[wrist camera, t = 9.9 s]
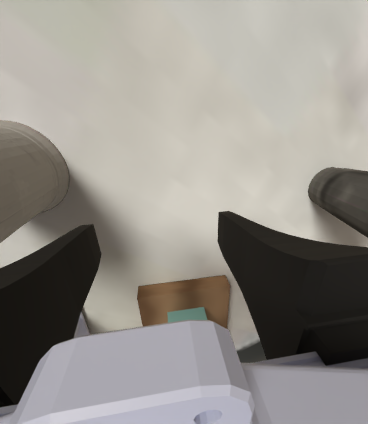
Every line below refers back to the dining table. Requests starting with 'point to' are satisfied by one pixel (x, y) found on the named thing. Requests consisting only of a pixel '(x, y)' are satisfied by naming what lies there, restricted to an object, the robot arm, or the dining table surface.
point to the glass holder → (28, 176)
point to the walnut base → (185, 299)
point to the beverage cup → (343, 195)
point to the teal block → (187, 315)
